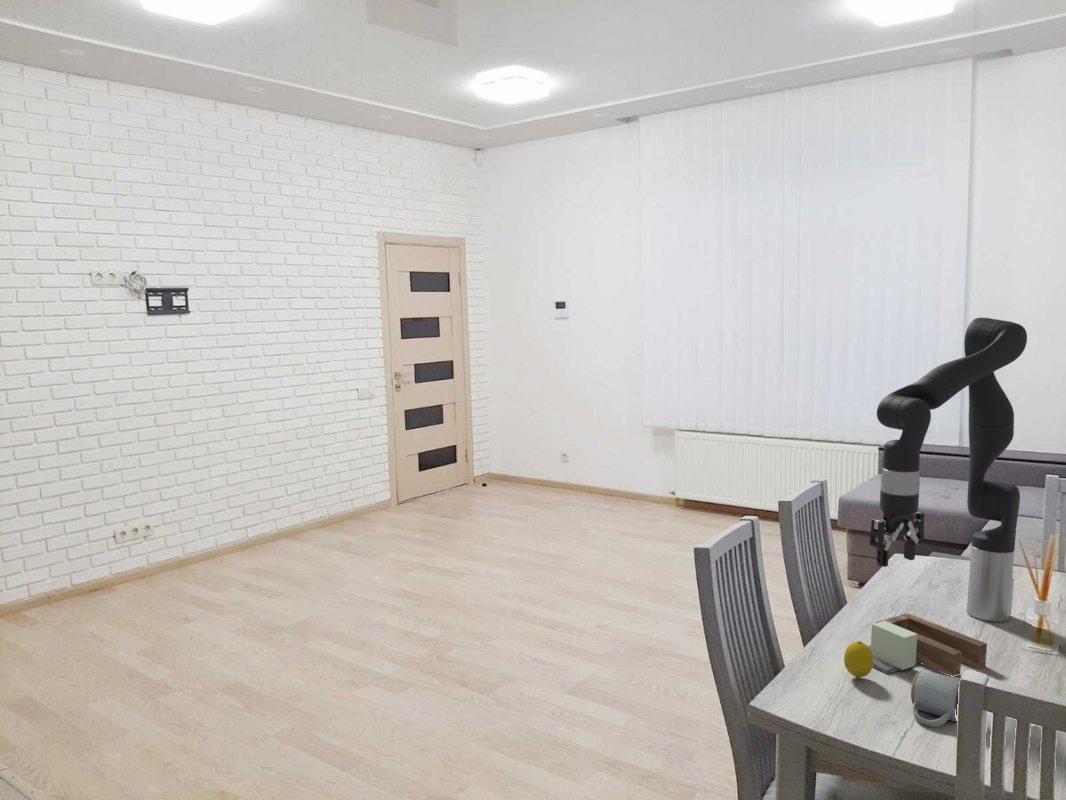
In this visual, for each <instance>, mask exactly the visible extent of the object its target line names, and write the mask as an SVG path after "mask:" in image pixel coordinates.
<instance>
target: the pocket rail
mask: <svg viewBox="0 0 1066 800" xmlns="http://www.w3.org/2000/svg"><path fill="white" fill-rule="evenodd" d="M882 621H886V622H889V623H891V624H894V625H896V626H899V627H901V628H904V629H906V630H909V631H911V632H914V633H916V634H917V648H916V659H917V660H919V662H920V663H919V664H921V663H923V664H924V665H923V664H922V665H923V666H925V665H927V666H926V667H928V668H930V667H931V668H930V669H932V668H933V669H932V670H934V669H936V670H935V671H937V670H938V671H937V672H939V671H941V672H943V673H946V674H949V675H952V676H954V675H957V674H958V676H960V675H961V670H962V669H961V668H962V667H961V666H962V663H963V662H964V664H966V665H969V666H971V667H973V668H975V669H981V668H984V667H986V663H987V652H988V651H987V650H988V643H986V642H984V641H981V640H979V639H977V638H973V637H971V636H968V635H967V634H966V635H965V634H963V633H962V632H961V633H960V632H958V631H955V630H953V629H950V628H947V627H945V626H942V625H940V624H937V623H935V622H932V621H931V620H930V621H929V620H927V619H924V618H921V617H919V616H916V615H914V614H911V613H909V612H907V613H904V614H900V615H897V616H893V617H889V618H886V619H883V620H878V621H875V623H878V622H882ZM961 661H962V662H961ZM941 672H940V673H941ZM943 673H942V674H943ZM946 674H945V675H946ZM959 674H960V675H959Z"/></svg>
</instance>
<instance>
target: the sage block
mask: <svg viewBox="0 0 1066 800" xmlns="http://www.w3.org/2000/svg"><path fill="white" fill-rule="evenodd" d="M877 622H878V621H877ZM870 638H871V639H870V645H871V652H872V655H873V657H875V658H878V659H880V660H882V661H884V662H886V663H889V664H891V665H893V666H895V667H897V668H900V670H902V671H904V670H907V669H910V668H912V667H916V665H917V664H916V648H917V634H916V633H914V632H911V631H909V630H906V629H904V628H901V627H899V626H896V625H894V624H891V623H889V622H886V621H882V622H878V623H876V622H874V623H872V624H871V637H870ZM915 664H916V665H915Z"/></svg>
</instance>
